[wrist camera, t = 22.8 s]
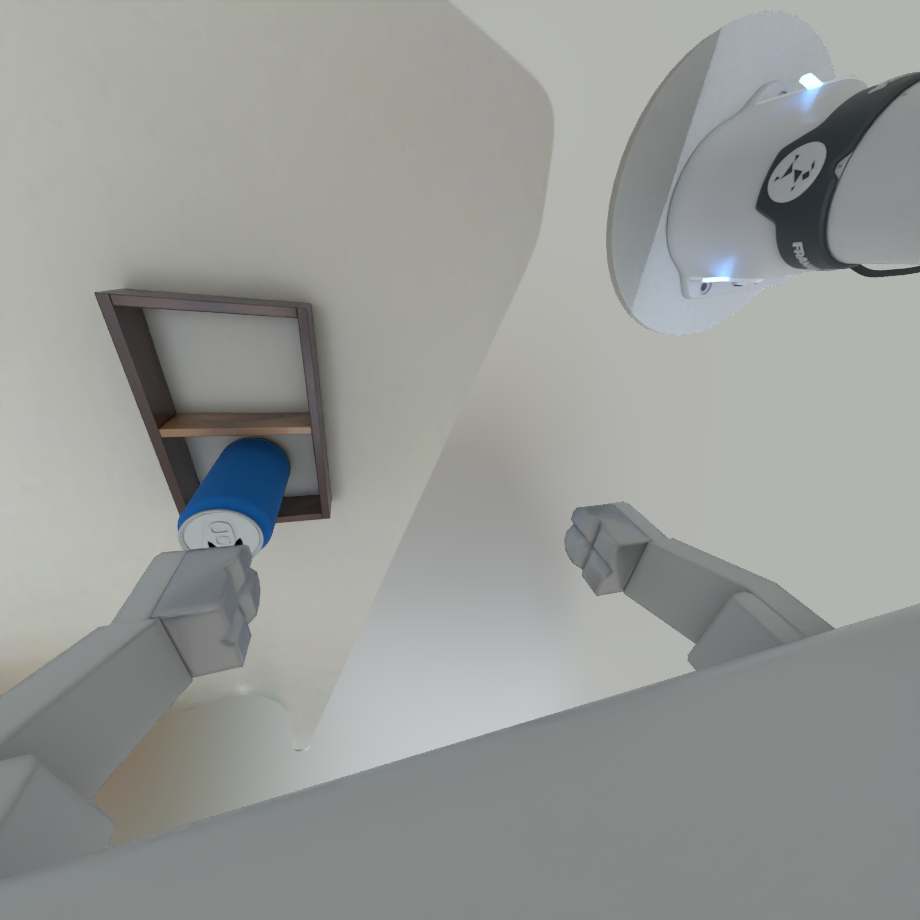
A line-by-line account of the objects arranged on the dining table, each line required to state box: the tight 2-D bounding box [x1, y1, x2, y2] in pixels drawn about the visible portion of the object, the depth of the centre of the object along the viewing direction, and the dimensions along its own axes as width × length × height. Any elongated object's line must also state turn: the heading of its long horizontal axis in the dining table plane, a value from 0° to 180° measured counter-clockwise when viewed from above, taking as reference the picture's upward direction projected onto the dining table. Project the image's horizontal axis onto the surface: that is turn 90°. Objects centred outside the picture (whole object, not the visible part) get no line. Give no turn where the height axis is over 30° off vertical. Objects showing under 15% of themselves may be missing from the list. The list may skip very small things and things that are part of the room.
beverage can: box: [178, 438, 290, 558], centre depth 31 cm, size 6×6×12 cm
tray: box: [95, 289, 332, 523], centre depth 32 cm, size 14×22×4 cm, turn 173°
